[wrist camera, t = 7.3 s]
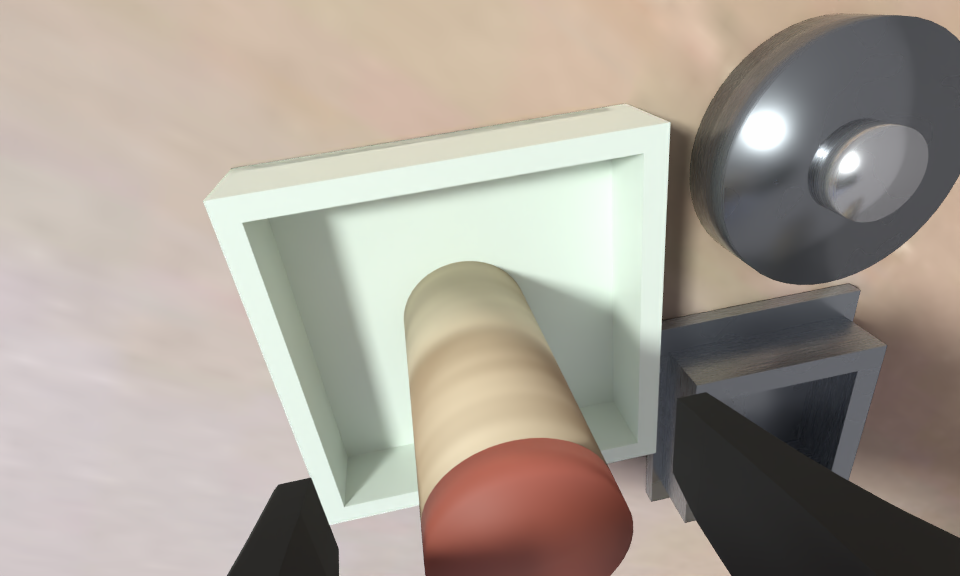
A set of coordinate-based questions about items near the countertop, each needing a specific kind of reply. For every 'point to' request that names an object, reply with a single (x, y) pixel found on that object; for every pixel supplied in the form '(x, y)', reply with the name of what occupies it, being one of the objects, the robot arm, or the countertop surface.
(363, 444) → the tray
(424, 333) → the pin
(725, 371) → the block
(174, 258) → the countertop surface
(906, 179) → the grey metal round disc
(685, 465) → the robot arm
